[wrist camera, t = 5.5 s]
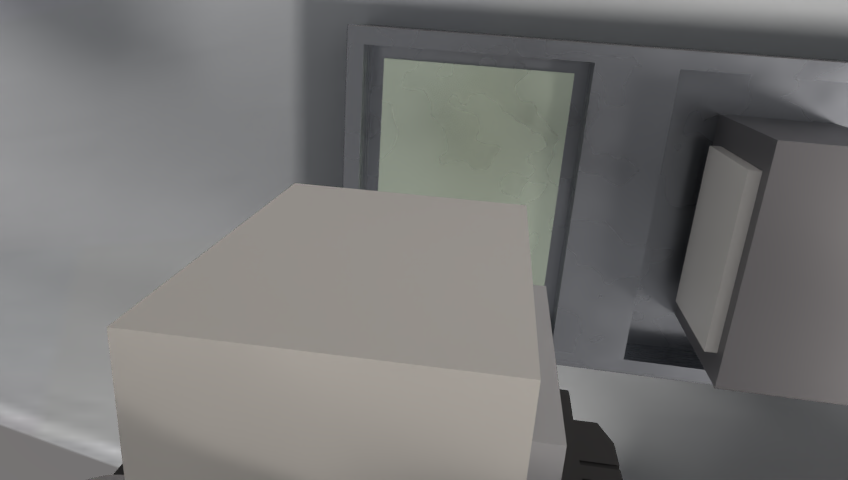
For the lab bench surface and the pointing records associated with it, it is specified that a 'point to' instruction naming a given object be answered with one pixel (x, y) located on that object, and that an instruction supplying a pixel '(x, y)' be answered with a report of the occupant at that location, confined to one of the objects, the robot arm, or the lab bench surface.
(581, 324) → the tray with compartments
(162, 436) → the block
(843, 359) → the block
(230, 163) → the lab bench surface
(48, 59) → the lab bench surface
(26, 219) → the lab bench surface
